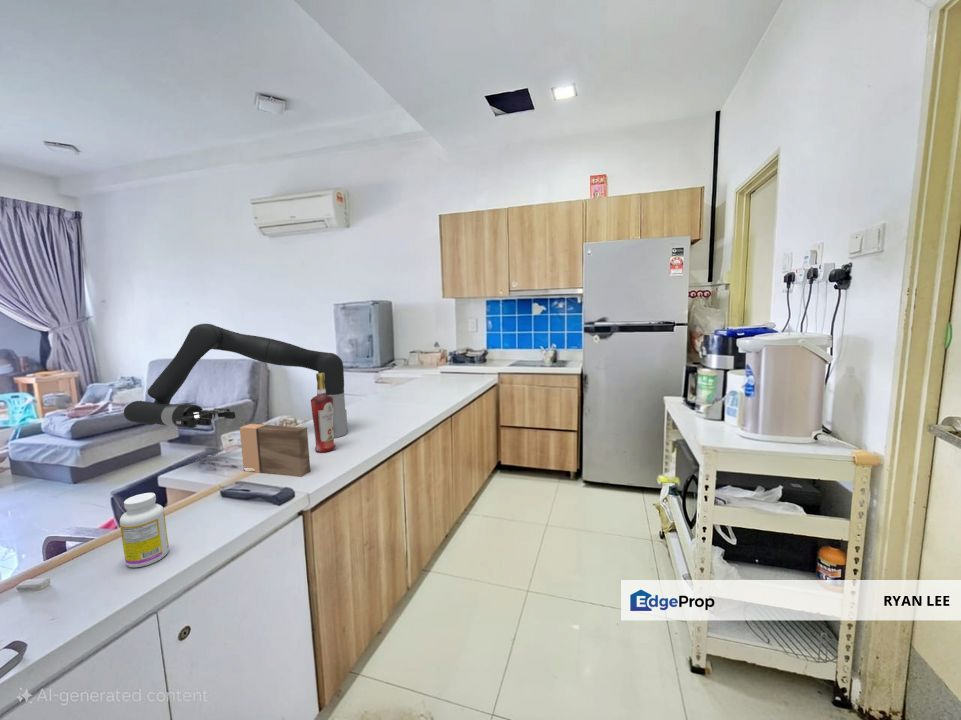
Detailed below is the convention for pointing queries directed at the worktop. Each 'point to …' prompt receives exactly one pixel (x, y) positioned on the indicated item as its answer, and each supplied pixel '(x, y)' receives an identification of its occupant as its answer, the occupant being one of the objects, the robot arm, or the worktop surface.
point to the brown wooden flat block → (283, 450)
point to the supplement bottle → (143, 530)
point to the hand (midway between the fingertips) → (222, 418)
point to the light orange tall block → (250, 446)
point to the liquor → (323, 417)
